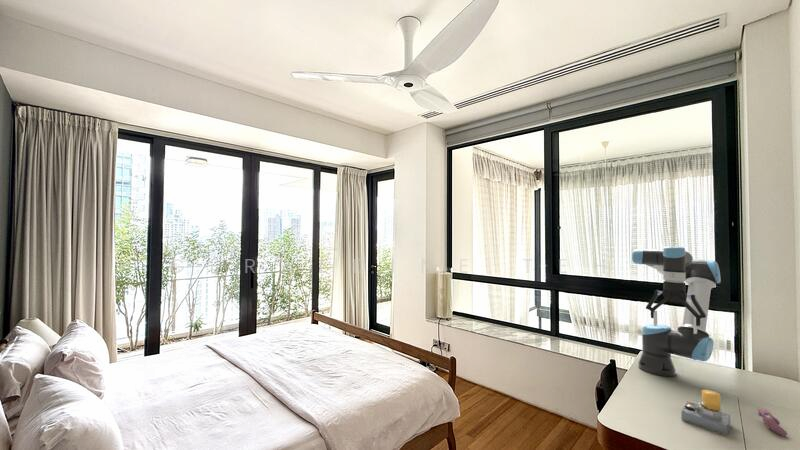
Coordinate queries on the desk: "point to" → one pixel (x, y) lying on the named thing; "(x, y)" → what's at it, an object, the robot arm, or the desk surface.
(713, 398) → the yellow capsule
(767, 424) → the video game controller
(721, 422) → the box
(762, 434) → the desk surface
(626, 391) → the desk surface
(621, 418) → the desk surface
